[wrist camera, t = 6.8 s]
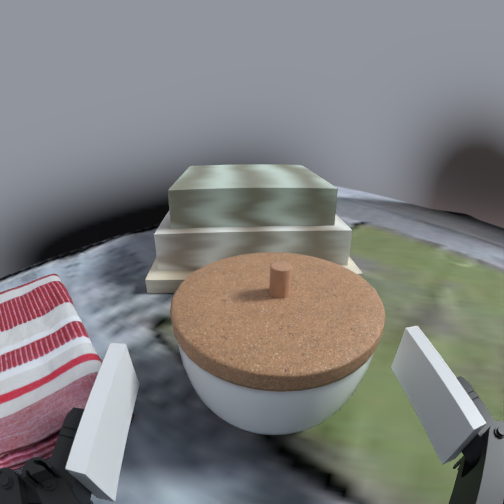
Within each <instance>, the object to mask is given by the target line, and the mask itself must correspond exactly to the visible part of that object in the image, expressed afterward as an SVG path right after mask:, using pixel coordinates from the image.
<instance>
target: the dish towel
mask: <svg viewBox="0 0 504 504" xmlns="http://www.w3.org/2000/svg"><path fill="white" fill-rule="evenodd" d="M101 365H102V362H101V359H100V358H99V356H98V354H97V352H96V351H95V349H94V347H93V345H92V343H91V341H90V338H89V336H88V334H87V332H86V330H85V327H84V325H83V324H82V322H81V319H80V317H79V316H78V314H77V312H76V310H75V308H74V305H73V302H72V300H71V297H70V296H69V294H68V291H67V289H66V288H65V286H64V285H63V284H62V282H61V279H60V277H59V276H58V275H56V274H51V275H48V276H45V277H42V278H39V279H36V280H34V281H32V282H29V283H27V284H24V285H21V286H18V287H15V288H12V289H9V290H6V291H4V292H1V293H0V469H1V468H4V467H5V468H10V469H12V470H15V469H18V468H22V467H24V465H25V463H26V462H27V461H28V460H29V459H31V458H34V457H41V458H44V459H47V458H50V457H51V456H52V453H53V450H54V447H55V444H56V441H57V438H58V436H59V433H60V430H61V428H62V425H63V422H64V419H65V417H66V415H67V414H68V413H69V412H70V411H71V410H72V408H73V407H76V408H81V409H85V407H86V404H87V401H88V399H89V396H90V393H91V391H92V388H93V385H94V383H95V380H96V378H97V375H98V373H99V370H100V368H101ZM133 416H134V411H133V413H132V418H131V421H132V419H133Z"/></svg>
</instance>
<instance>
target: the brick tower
mask: <svg viewBox="0 0 504 504" xmlns="http://www.w3.org/2000/svg"><path fill="white" fill-rule="evenodd" d="M337 190H338V189H337V188H336V187H334V186H333V185H331V184H330V183H328V182H327V181H325V180H324V179H322V178H321V177H319V176H317V175H316V174H314V173H313V172H311V171H310V170H308V169H307V168H305V167H303V166H302V165H208V166H190V167H189V168H188V169H187V170H186V171H185V172H184V173H183V174H182V176H181V177H180V178H179V179H178V180H177V181H176V182H175V183H174V184H173V185H172V187H171V188H170V189H169V190H168V197H169V212H168V213H167V215H166V216H165V218H164V219H163V221H162V222H161V224H160V226H159V227H158V229H157V230H156V232H155V233H154V240H155V248H156V255H157V257H156V259H155V261H154V263H153V265H152V267H151V269H150V271H149V273H148V275H147V277H146V279H145V283H146V288H147V293H175V292H176V291H177V289H178V288H179V286H180V284H181V283H182V282H183V281H184V280H185V279H186V278H187V277H188V276H190V275H191V274H192V273H194V272H195V271H197V270H198V269H200V268H202V267H204V266H206V265H208V264H211V263H213V262H216V261H218V260H222V259H225V258H229V257H233V256H238V255H244V254H252V253H264V252H279V253H293V254H301V255H307V256H312V257H317V258H320V259H324V260H327V261H330V262H333V263H336V264H339V265H341V266H343V267H345V268H347V269H349V270H351V271H353V272H354V273H356V274H358V275H359V276H361V277H362V274H363V273H362V272H361V271H360V270H359V268H358V267H357V266H356V264H355V263H354V262H353V261H352V259H351V258H350V257H349V252H350V244H351V237H352V230H351V229H350V228H349V227H348V226H347V225H346V224H345V223H344V222H343V221H342V220H341V219H340V218H339V217H338V216H337V215H336V203H337Z"/></svg>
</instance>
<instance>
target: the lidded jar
mask: <svg viewBox="0 0 504 504" xmlns="http://www.w3.org/2000/svg"><path fill="white" fill-rule="evenodd" d="M170 314H171V320H172V326H173V331H174V335H175V337H176V339H177V341H178V345H179V350H180V354H181V358H182V362H183V365H184V368H185V370H186V373H187V375H188V377H189V379H190V382H191V384H192V386H193V387H194V389H195V391H196V392H197V394H198V396H199V397H200V398H201V399H202V401H203V402H204V403H205V404H206V406H207V407H209V408H210V409H211V410H212V411H213V412H214V413H215V414H216V415H218V416H219V417H220V418H221V419H223V420H224V421H226V422H228V423H229V424H231V425H233V426H236V427H238V428H240V429H243V430H246V431H250V432H254V433H258V434H266V435H285V434H291V433H296V432H301V431H304V430H307V429H310V428H312V427H315V426H317V425H318V424H320V423H322V422H324V421H325V420H327V419H328V418H330V417H331V416H332V415H334V414H335V413H336V412H337V411H339V410H340V409H341V408H342V407H343V406H344V404H345V403H346V402H347V401H348V400H349V398H350V397H351V396H352V395H353V394H354V392H355V391H356V389H357V388H358V386H359V384H360V383H361V381H362V379H363V377H364V375H365V373H366V371H367V369H368V366H369V364H370V362H371V359H372V356H373V353H374V352H375V350H376V348H377V346H378V343H379V341H380V339H381V336H382V333H383V330H384V324H385V311H384V307H383V304H382V301H381V299H380V297H379V296H378V294H377V292H376V291H375V289H374V288H373V287H372V286H371V285H370V284H369V283H368V282H367V281H366V280H364V279H363V278H362V277H361V276H359V275H358V274H356V273H354V272H353V271H351V270H349V269H347V268H345V267H343V266H341V265H339V264H336V263H333V262H330V261H327V260H324V259H320V258H317V257H312V256H307V255H301V254H293V253H279V252H264V253H252V254H244V255H238V256H233V257H229V258H225V259H222V260H218V261H216V262H213V263H211V264H208V265H206V266H204V267H202V268H200V269H198V270H197V271H195V272H194V273H192V274H191V275H190V276H188V277H187V278H186V279H185V280H184V281H183V282H182V283H181V284H180V286H179V288H178V289H177V291H176V292H175V294H174V296H173V299H172V302H171V309H170Z"/></svg>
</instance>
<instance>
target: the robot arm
mask: <svg viewBox="0 0 504 504" xmlns="http://www.w3.org/2000/svg"><path fill="white" fill-rule="evenodd" d="M391 368H392V370H393V372H394V374H395V375H396V377H397V379H398V381H399V383H400V384H401V386H402V388H403V390H404V392H405V393H406V395H407V397H408V399H409V401H410V403H411V404H412V406H413V408H414V410H415V412H416V414H417V416H418V418H419V419H420V421H421V423H422V425H423V427H424V429H425V431H426V433H427V435H428V437H429V439H430V441H431V443H432V445H433V447H434V449H435V451H436V453H437V455H438V457H439V459H440V461H441V463H442V464H445V463H447V462H449V461H451V460H453V459H455V458H456V457H457V456H458V455H459V454H460V453H461V452H462V453H463V455H464V456H463V457H462V458H461V459H460V460H459V461H458V462H457V463H456V464H455V465H454V467H453V469H455V468H456V467H457V466H458V465H459V464H460V466H459V468H458V469H457V470H458V474H457V478H456V481H455V485H454V488H453V492H452V495H451V498H450V501H449V504H504V422H503V421H495V419H494V418H493V417H492V415H491V414H490V412H489V411H488V409H487V408H486V406H485V405H484V403H483V402H482V400H481V399H480V398H479V396H478V395H477V393H476V392H474V389H473V387H472V386H471V385H470V383H469V382H468V381H466V380H465V379H464V378H463V377H461V376H460V377H457V378H456V377H455V375H454V374H453V372H452V371H451V370H450V368H449V367H448V365H447V364H446V363H445V361H444V360H443V359H442V357H441V356H440V355H439V353H438V352H437V351H436V349H435V348H434V347H433V345H432V344H431V343H430V341H429V340H428V339H427V337H426V336H425V335H424V333H423V332H422V331H421V330H420V328H419V327H418V326H414V327H408V328H405V331H404V334H403V337H402V339H401V342H400V345H399V348H398V350H397V353H396V356H395V358H394V361H393V364H392V366H391ZM139 385H140V384H139V381H138V379H137V376H136V373H135V370H134V367H133V364H132V361H131V358H130V355H129V352H128V349H127V346H126V344H118V343H111V344H110V346H109V348H108V351H107V353H106V355H105V358H104V360H103V363H102V365H101V368H100V370H99V373H98V375H97V378H96V380H95V383H94V385H93V388H92V391H91V393H90V396H89V399H88V401H87V404H86V407H85V409H81V408H76V407H73V408H72V410H71V411H70V412H69V413H68V414H67V415H66V417H65V419H64V422H63V425H62V428H61V430H60V433H59V436H58V438H57V441H56V444H55V447H54V450H53V453H52V456H51V459H50V462H49V461H47V460H46V459H44V458H41V457H34V458H31V459H29V460H28V461H27V462H26V463H25V465H24V467H23V471H22V472H23V474H17V473H16V472H14V471H13V470H12V469H10V468H5V467H4V468H1V469H0V504H93V502H92V501H91V500H90V498H91V494H93V495H95V496H96V497H97V498H100V499H105V500H109V501H114V502H115V498H116V492H117V487H118V481H119V475H120V470H121V465H122V460H123V455H124V450H125V445H126V440H127V435H128V431H129V426H130V422H131V418H132V413H133V409H134V405H135V401H136V397H137V393H138V389H139Z"/></svg>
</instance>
